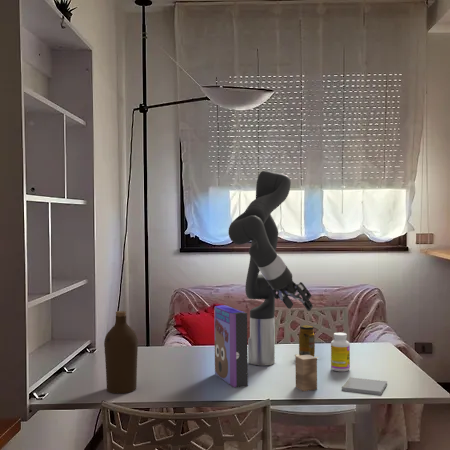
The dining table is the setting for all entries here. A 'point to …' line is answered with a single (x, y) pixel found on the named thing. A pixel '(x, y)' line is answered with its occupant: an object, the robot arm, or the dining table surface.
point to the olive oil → (121, 356)
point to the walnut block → (306, 372)
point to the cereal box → (231, 345)
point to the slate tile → (364, 386)
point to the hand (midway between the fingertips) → (300, 307)
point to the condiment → (306, 341)
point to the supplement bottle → (340, 353)
